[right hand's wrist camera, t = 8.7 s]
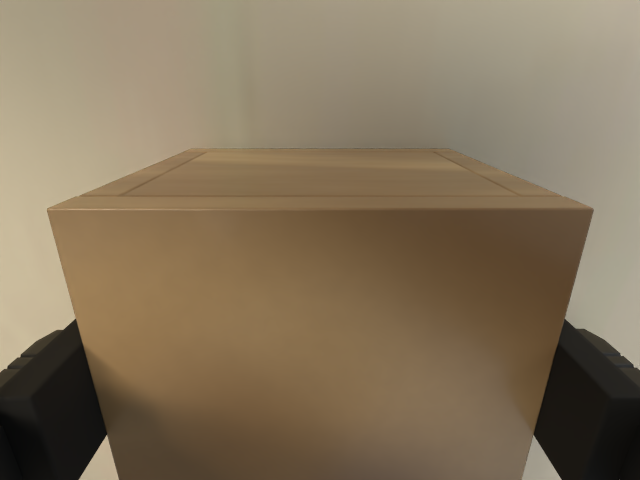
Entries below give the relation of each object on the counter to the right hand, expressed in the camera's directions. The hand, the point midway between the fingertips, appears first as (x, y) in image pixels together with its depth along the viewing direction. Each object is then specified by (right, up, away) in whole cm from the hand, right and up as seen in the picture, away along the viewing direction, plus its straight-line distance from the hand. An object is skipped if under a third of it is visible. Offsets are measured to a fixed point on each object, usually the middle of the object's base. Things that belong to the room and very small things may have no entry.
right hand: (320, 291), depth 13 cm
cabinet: (0, -3, +5) cm, 6 cm away
